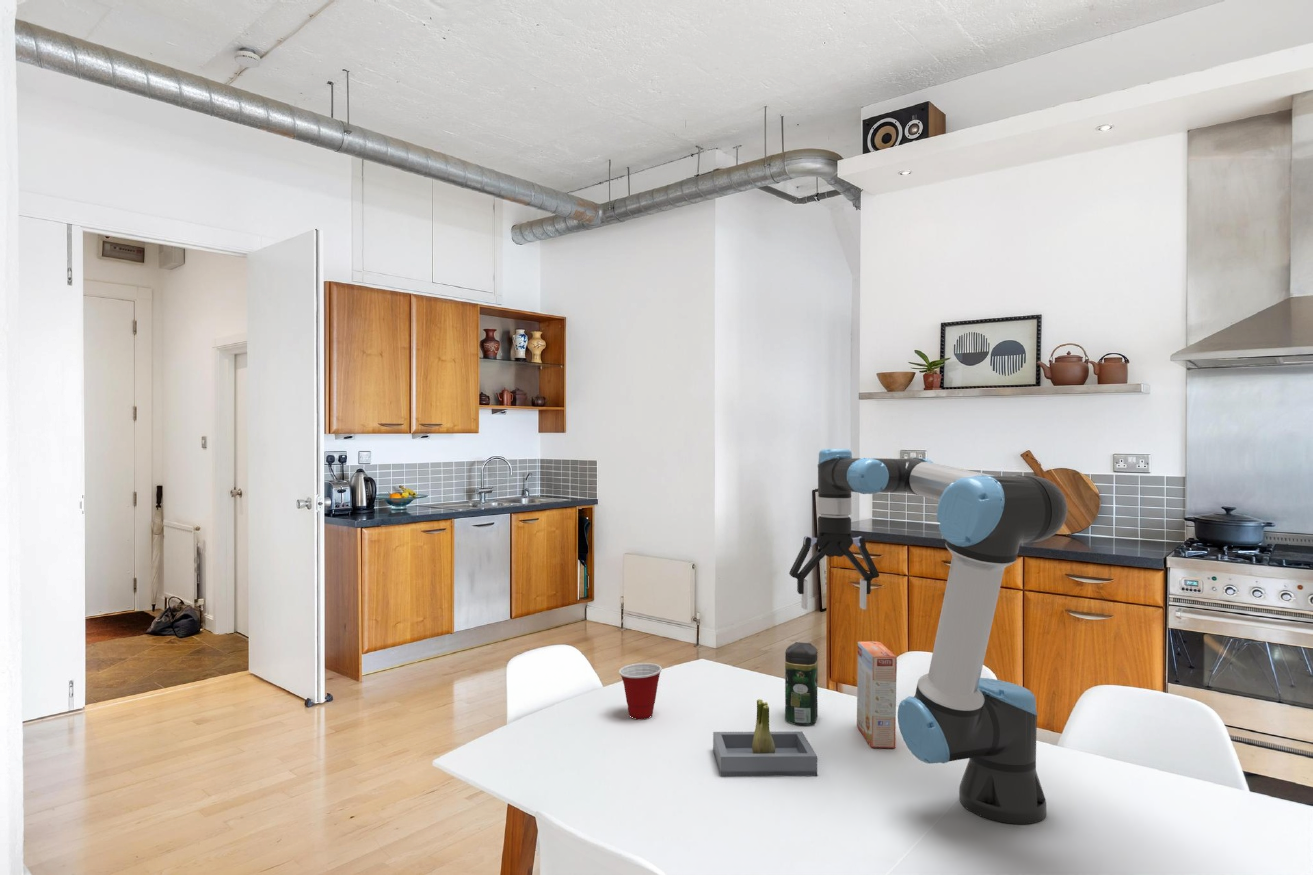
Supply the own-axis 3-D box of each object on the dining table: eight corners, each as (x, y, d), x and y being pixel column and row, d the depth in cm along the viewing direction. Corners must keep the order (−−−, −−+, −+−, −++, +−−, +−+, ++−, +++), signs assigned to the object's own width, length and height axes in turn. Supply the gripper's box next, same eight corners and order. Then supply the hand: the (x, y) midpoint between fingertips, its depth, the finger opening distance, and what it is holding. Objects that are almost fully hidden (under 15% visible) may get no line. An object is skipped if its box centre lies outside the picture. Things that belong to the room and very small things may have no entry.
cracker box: (897, 749, 177) (898, 656, 177) (870, 748, 177) (871, 655, 177) (881, 726, 191) (881, 640, 191) (856, 726, 191) (856, 640, 191)
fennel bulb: (754, 751, 172) (754, 696, 172) (776, 754, 171) (777, 698, 171) (750, 762, 167) (750, 705, 167) (773, 764, 165) (773, 707, 166)
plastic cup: (613, 711, 201) (613, 663, 201) (653, 707, 204) (654, 660, 204) (624, 725, 190) (624, 675, 190) (667, 721, 194) (667, 672, 194)
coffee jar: (787, 711, 201) (788, 638, 202) (819, 715, 199) (819, 641, 199) (782, 724, 192) (782, 648, 192) (815, 728, 190) (815, 651, 190)
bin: (817, 775, 162) (817, 756, 162) (720, 776, 162) (720, 756, 162) (802, 749, 176) (802, 731, 176) (713, 749, 176) (713, 731, 176)
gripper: (882, 514, 185) (882, 605, 185) (777, 514, 184) (776, 604, 184) (893, 517, 178) (892, 611, 178) (783, 517, 177) (783, 611, 177)
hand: (833, 608), depth 181 cm, fingers open, 13 cm apart
